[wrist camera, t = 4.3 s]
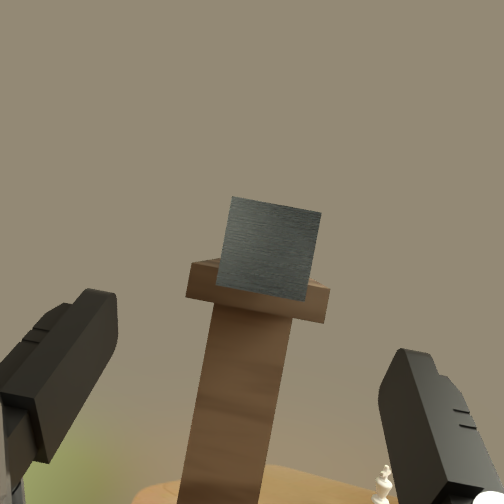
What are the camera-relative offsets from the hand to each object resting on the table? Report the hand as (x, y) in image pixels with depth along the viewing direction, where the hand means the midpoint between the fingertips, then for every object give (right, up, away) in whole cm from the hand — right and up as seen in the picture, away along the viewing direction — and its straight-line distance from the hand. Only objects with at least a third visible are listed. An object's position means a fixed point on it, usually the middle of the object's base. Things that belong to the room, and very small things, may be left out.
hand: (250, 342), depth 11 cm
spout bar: (+1, +1, +13) cm, 13 cm away
